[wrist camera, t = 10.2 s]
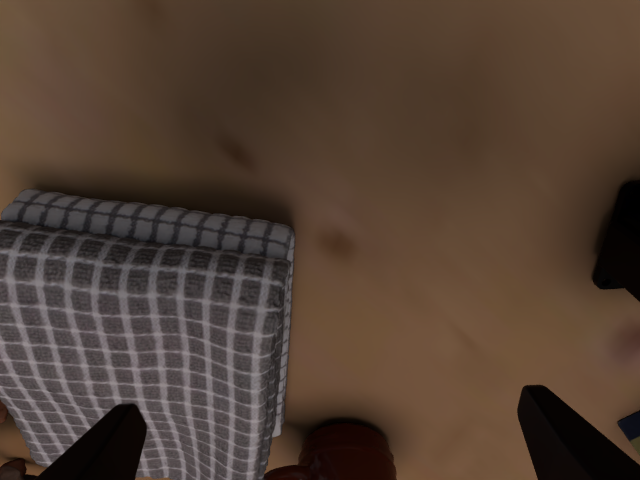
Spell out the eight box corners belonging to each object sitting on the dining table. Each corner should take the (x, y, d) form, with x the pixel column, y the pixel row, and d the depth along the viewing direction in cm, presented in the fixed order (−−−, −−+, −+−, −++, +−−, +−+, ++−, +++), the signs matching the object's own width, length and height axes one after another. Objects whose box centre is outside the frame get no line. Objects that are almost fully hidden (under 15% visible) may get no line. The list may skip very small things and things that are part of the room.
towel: (304, 205, 21) (291, 294, 14) (285, 417, 30) (271, 533, 23) (22, 175, 21) (-130, 253, 14) (89, 399, 30) (17, 512, 23)
